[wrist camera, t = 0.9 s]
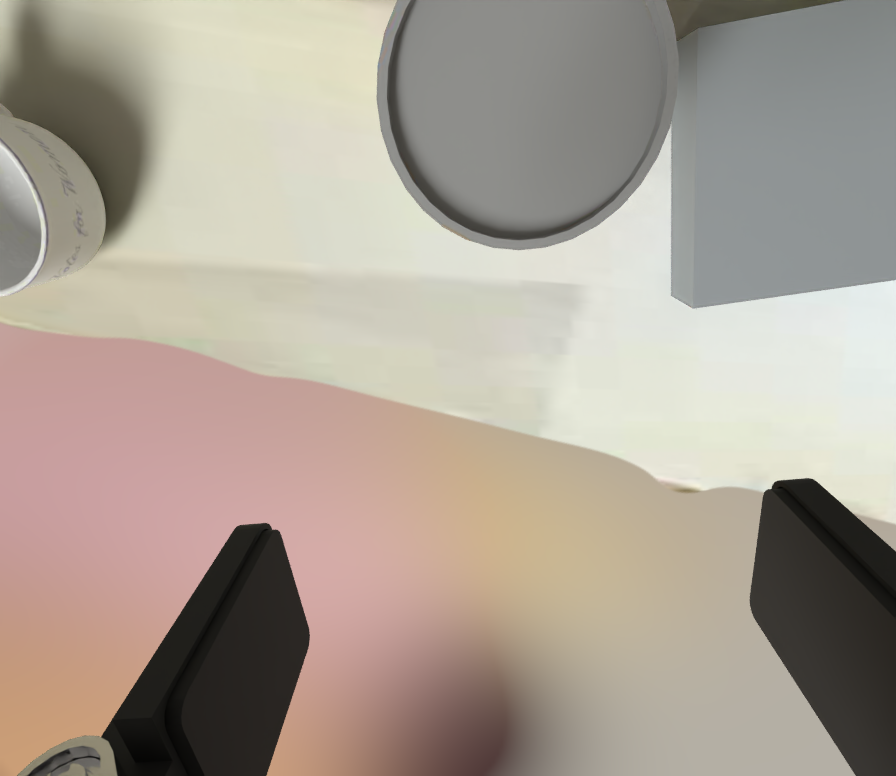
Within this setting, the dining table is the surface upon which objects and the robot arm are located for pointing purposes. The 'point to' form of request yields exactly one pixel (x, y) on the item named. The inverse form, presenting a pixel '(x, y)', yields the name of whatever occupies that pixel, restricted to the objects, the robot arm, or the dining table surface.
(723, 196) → the stand
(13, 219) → the teacup
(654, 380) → the dining table surface
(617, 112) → the reusable coffee cup
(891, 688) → the robot arm
